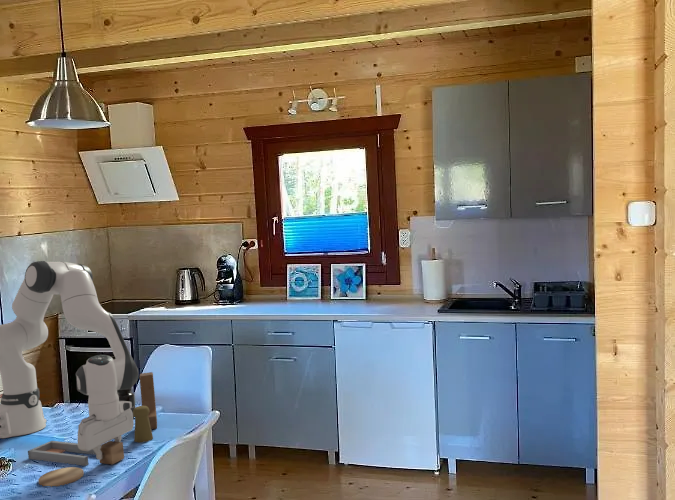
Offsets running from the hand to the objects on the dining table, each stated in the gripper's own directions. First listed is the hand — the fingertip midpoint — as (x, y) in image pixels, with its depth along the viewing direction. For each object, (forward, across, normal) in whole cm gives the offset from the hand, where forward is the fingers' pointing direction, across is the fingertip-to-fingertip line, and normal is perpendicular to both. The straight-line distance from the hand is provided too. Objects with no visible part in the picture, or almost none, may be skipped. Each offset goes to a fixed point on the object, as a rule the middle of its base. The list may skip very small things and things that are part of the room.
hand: (108, 454), depth 205 cm
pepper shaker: (+2, +19, +3) cm, 19 cm away
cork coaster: (+2, -14, +5) cm, 15 cm away
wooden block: (+2, +31, +10) cm, 33 cm away
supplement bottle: (+2, +36, +25) cm, 44 cm away
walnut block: (+2, 0, -1) cm, 2 cm away
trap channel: (+2, 0, +17) cm, 17 cm away
